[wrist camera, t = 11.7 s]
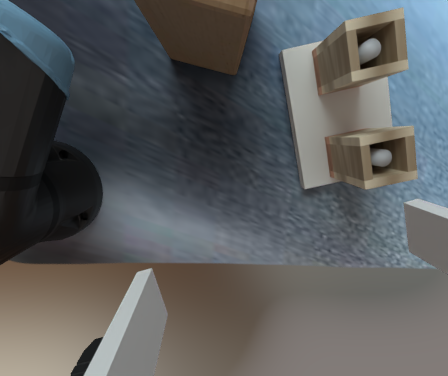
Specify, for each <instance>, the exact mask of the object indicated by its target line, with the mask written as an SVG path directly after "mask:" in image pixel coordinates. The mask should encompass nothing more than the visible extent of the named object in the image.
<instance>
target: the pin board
mask: <svg viewBox="0 0 448 376" xmlns="http://www.w3.org/2000/svg"><path fill="white" fill-rule="evenodd" d="M321 42H323V41H320V42H316V43H311V44H307V45H303V46H298V47H294V48H290V49H285V50H282V51H281V52H280V54H279V58H280V64H281V70H282V76H283V82H284V88H285V94H286V100H287V106H288V112H289V118H290V124H291V130H292V136H293V142H294V148H295V154H296V160H297V166H298V172H299V178H300V184H301V187H302V188H304V189H308V188H313V187H317V186H322V185H327V184H331V183H336V182H341V181H340V180H337V179H335V178H332V177H330V173H329V165H328V158H327V151H326V144H325V137H328V136H332V135H337V134H342V133H346V132H351V131H356V130H360V129H365V128H383V127H392V118H391V108H390V97H389V87H388V77H385V78H382V79H379V80H376V81H374V82H371V83H368V84H365V85H362V86H359V87H355V88H350V89H346V90H342V91H337V92H333V93H328V94H324V95H319V96H318V91H317V84H316V77H315V70H314V63H313V56H312V51H313V50H314V49H315V48H316V47H317V46H318V45H319V44H320V43H321ZM380 51H381V44H380V42H379V41H378V40H377V39H374V38H372V39H369V40H367V41H365V42H364V43H362V44H361V45H359V46H358V53H359V61H360V65H361V64H363V63H365V62H367V61H369V60H371V59H373V58H375V57H377V56H378V55H379V53H380ZM370 155H371V164H372V165H375V166H380V167H384V166H387V165H388V164H389V163H390V162H391V160H392V154H391V152H390V151H388V150H386V149H373V148H370Z"/></svg>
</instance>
